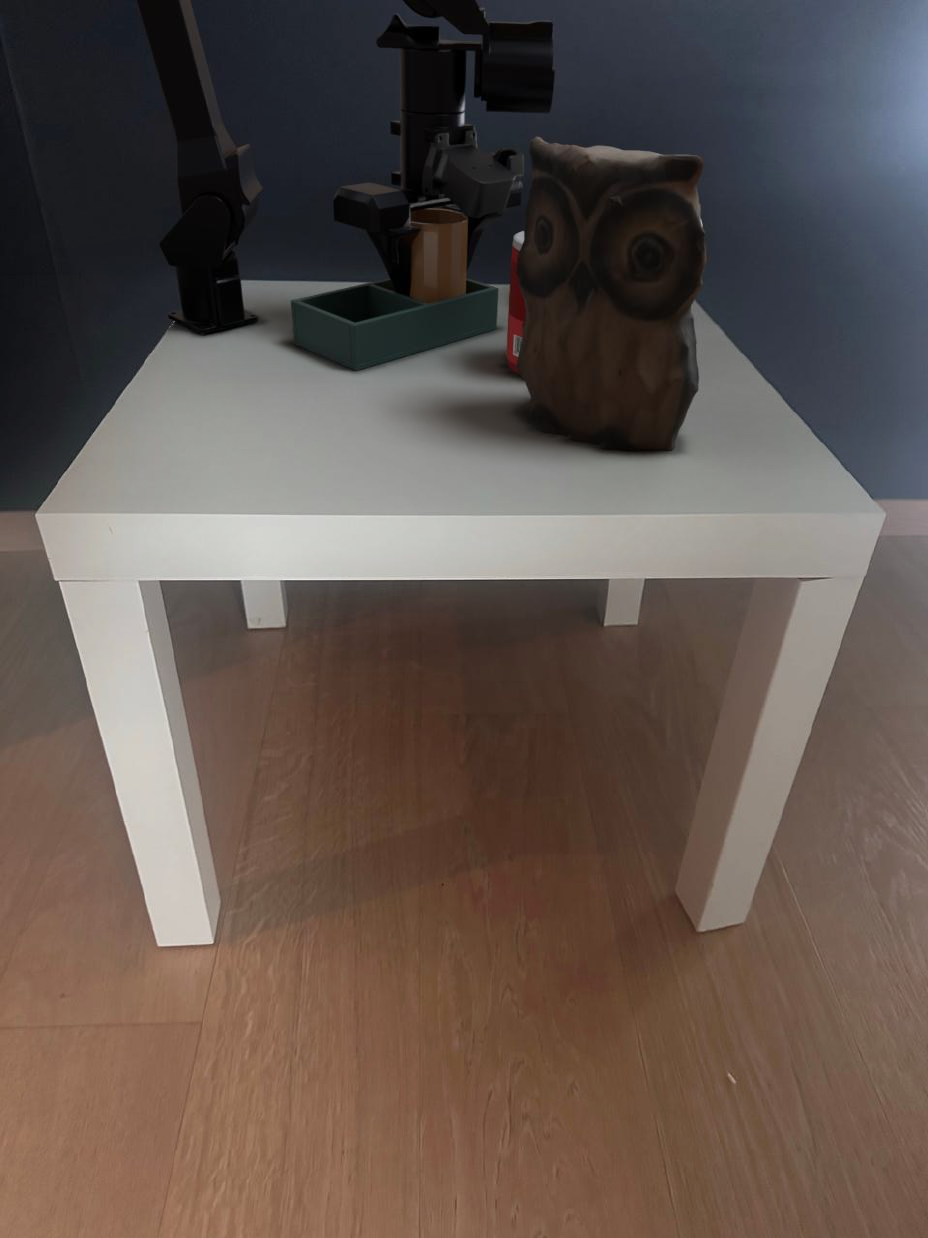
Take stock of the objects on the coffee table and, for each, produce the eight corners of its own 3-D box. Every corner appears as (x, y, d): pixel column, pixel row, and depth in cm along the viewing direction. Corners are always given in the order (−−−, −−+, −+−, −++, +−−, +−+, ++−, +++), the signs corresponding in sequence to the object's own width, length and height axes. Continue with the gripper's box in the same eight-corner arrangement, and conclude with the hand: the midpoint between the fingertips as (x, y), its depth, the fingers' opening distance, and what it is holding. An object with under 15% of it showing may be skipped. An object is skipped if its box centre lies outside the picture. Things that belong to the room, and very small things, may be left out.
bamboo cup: (383, 312, 90) (381, 214, 85) (433, 299, 94) (434, 205, 89) (429, 329, 86) (430, 227, 81) (479, 315, 90) (482, 217, 85)
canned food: (598, 384, 80) (614, 251, 73) (506, 381, 80) (514, 248, 73) (589, 353, 86) (603, 228, 80) (504, 350, 86) (511, 225, 80)
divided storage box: (293, 343, 86) (290, 300, 84) (433, 306, 96) (433, 267, 94) (355, 370, 81) (354, 325, 78) (496, 329, 91) (498, 287, 89)
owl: (691, 457, 68) (747, 160, 57) (523, 459, 67) (545, 157, 56) (648, 392, 79) (688, 129, 67) (502, 393, 77) (516, 126, 66)
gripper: (414, 130, 70) (414, 334, 79) (572, 113, 81) (557, 294, 90) (324, 113, 76) (334, 303, 85) (482, 99, 87) (476, 269, 96)
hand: (431, 292), depth 89 cm, fingers closed on bamboo cup, 7 cm apart
